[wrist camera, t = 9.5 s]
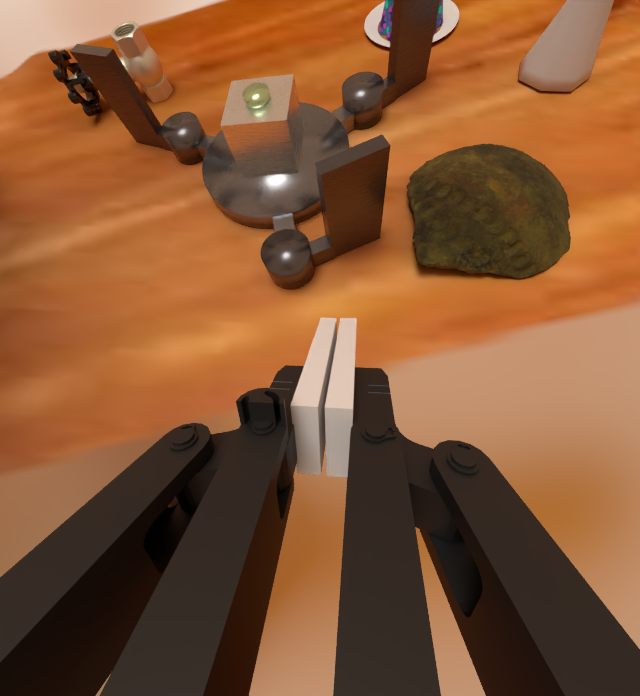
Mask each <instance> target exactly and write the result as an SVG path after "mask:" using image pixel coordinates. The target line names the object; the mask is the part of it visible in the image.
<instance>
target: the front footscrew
mask: <svg viewBox="0 0 640 696" xmlns="http://www.w3.org/2000/svg"><path fill="white" fill-rule="evenodd" d="M389 152H390V145H389V143H388V142H387V140H386V139H385V138H384V136H383V135H380V136H378V137H375V138H373V139H370V140H368V141H366V142H363V143H361V144H359V145H356V146H354V147H352V148H349V149H347V150H344V151H342V152H340V153H337V154H335V155H333V156H330V157H328V158H326V159H323V160H321V161H318V162H316V163H315V169H316V175H317V182H318V188H319V195H320V201H321V208H322V214H323V220H324V227H325V233H326V235H325V236H323V237H321V238H318V239H316V240H314V241H311V242H309V241H308V239H307V237H306V236H305V235H304V234H303V233H301V232H300V231H297V230H294V229H283V230H279V231H277V232H275V233H273V234H271V235H270V236H269V237H268V238H267V239H266V240H265V242H264V243H263V245H262V248H261V258H262V261H263V263H264V264H265V266H266V268H267V270H268V272H269V274H270V276H271V278H272V280H273V281H274V283H275V284H276V285H278V286H279V287H281V288H284V289H296V288H300V287H302V286H304V285H305V284H307V283H308V282H309V281H310V280H311V278H312V276H313V274H314V271H315V266H317V265H320V264H322V263H324V262H327V261H329V260H331V259H334V258H335V257H336V256H338V255H341V254H343V253H346V252H348V251H350V250H353V249H355V248H357V247H360V246H362V245H364V244H367V243H369V242H371V241H374V240H376V239H378V238H380V232H381V223H382V214H383V205H384V196H385V188H386V179H387V170H388V161H389Z"/></svg>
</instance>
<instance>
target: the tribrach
mask: <svg viewBox="0 0 640 696" xmlns="http://www.w3.org/2000/svg"><path fill="white" fill-rule="evenodd" d="M439 4H440V0H394V4H393V16H392V28H391V40H390V52H389V64H388V76H387V78H385V79H384V80H383V79H382V77H381V76H380V75H378V74H376V73H373V72H360V73H357V74H354V75H352V76H350V77H349V78H347V79H346V80H345V82H344V83H343V86H342V96H343V105H342V106H341V107H339V108H338V109H336V110H335V111H333V112H332V113H330V112H329V111H327V110H325V109H323V108H321V107H318V106H315V105H312V104H308V103H301V102H298V96H297V90H296V85H295V79H294V74H290V75H281V76H272V77H263V78H255V79H246V80H237V81H232V82H231V86H230V90H229V94H228V98H227V102H226V105H225V109H224V113H223V117H222V121H221V125H220V127H221V129H222V130H221V131H220V132H219V133H218V134H217V136H216V137H212V136H208V135H206V134H205V132H204V130H203V128H202V126H201V124H200V122H199V120H198V118H197V116H196V115H195V114H193V113H191V112H181V113H177V114H175V115H173V116H171V117H170V118H168V119H167V120H166V121H165V122H164V124H163V126H161V125H160V123H159V121H158V120H157V118H156V117H155V115H154V113H153V112H152V110H151V109H150V107H149V105H148V104H147V102H146V101H145V99H144V97H143V96H142V94H141V93H140V91H139V89H138V88H137V86H136V85H135V83H134V81H133V80H132V78H131V77H130V75H129V73H128V72H127V70H126V69H125V67H124V65H123V64H122V62H121V61H120V59H119V57H118V56H117V54H116V53H115V51H114V49H111V48H103V47H96V46H88V45H80V44H77V45H76V46H75V47H74V48H73V49H72V50H71V51H70V52H71V54H72V55H73V56H74V58H75V59H76V60H77V62H78V63H79V64H80V66H81V67H82V68H83V70H84V71H85V73H86V74H87V75H88V77H89V78H90V79H91V81H92V82H93V83H94V85H95V86H96V87H97V89H98V90H99V91H100V93H101V94H102V95H103V97H104V98H105V100H106V101H107V102H108V104H109V105H110V106H111V108H112V109H113V110H114V112H115V113H116V114H117V116H118V117H119V118H120V120H121V121H122V122H123V124H124V125H125V127H126V128H127V129H128V131H129V132H130V133H131V135H132V136H133V137H134V139H135V140H136V141H137V142H139V143H143V144H148V145H152V146H156V147H160V148H164V149H166V150H170V151H173V152H174V154H175V155H176V157H177V158H178V160H179V161H180V162H181V163H183V164H187V165H191V164H196V163H198V162H200V161H202V160H203V166H202V174H203V180H204V183H205V185H206V187H207V189H208V191H209V193H210V194H211V196H212V198H213V199H214V201H215V203H216V204H217V206H218V208H219V209H220V210H221V211H222V212H223V213H224V214H225V215H226V216H227V217H229V218H230V219H232V220H233V221H235V222H238V223H240V224H242V225H246V226H249V227H255V228H274V233H275V232H277V231H279V230H283V229H294V230H296V223H299V222H301V221H304V220H306V219H308V218H310V217H312V216H314V215H316V214H317V213H319V212H320V211H322V208H321V201H320V195H319V188H318V182H317V175H316V169H315V163H316V162H318V161H321V160H323V159H326V158H328V157H330V156H333V155H335V154H337V153H340V152H342V151H344V150H347V149H349V141H348V136H347V133H349V132H350V131H352V130H353V129H358V130H362V129H367V128H370V127H372V126H374V125H375V124H377V123H378V122H379V120H380V118H381V114H382V108H384V107H385V106H387V105H388V104H390V103H392V102H393V101H394V100H395V99H396V98H398V97H399V96H401V95H402V94H404V93H405V92H407V91H408V90H410V89H411V88H413V87H415V86H416V85H418V84H419V83H421V82H422V81H424V80H425V79H426V73H427V68H428V63H429V57H430V52H431V47H432V41H433V36H434V31H435V26H436V20H437V15H438V10H439Z"/></svg>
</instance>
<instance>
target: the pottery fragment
mask: <svg viewBox="0 0 640 696" xmlns="http://www.w3.org/2000/svg"><path fill="white" fill-rule="evenodd" d="M407 189H408V191H407V195H408V199H409V207H410V209H411V210H412V211H413V213H414V220H415V232H414V236H413V239H414V242H413V245H414V247H415V249H416V260H417V262H418V265H423V266H427V267H428V268H429V267H436V268H438V269H451V268H455V269H457V270H460V271H465V272H466V273H468V274H476V273H483V274H485V273H492V274H495V275H501V276H509V277H511V278H515V279H520V278H527V277H530V276H533V275H535V274H537V273H539V272H541V271H545V270H547V269H548V268H549V267H551V266H552V265H553V264H554V263H557V262H558V261H559V259H560V257H561V256H562V255H563V254H564V253H566V252H567V251H568V250H569V248H570V238H571V237H570V232H569V227H568V219H569V218H570V214H569V209H568V206H569V205H568V200H567V195H566V192H565V191H564V188H563V187H562V186H561V184H560V182H559V181H558V179H557V178H556V177H555V176H554V175H553V173H552V172H551V171H550V170H549V169H548V168H547V167H546V166H545V165H543V164H542V163H540V162H539V161H537V160H535V159H533V158H532V157H530V156H529V155H527V154H525V153H524V152H522V151H519V150H517V149H514V148H509V147H505V146H502V145H494V144H481V145H474V146H471V147H470V146H468V147H462V148H460V149H456V150H453V151H449V152H446V153H444V154H442V155H440V156H438V157H436V158H434V159H433V160H430V161H427V162H426V163H425V164H424V165H423V166H421V167H420V168H419V169H418V170H416V171H415V172H414V173H413V174H412V175H411V177H410V183H409V184H408V185H407Z"/></svg>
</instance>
